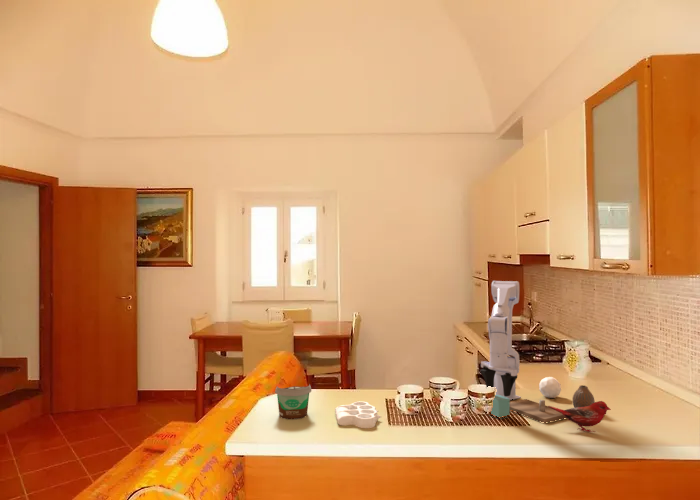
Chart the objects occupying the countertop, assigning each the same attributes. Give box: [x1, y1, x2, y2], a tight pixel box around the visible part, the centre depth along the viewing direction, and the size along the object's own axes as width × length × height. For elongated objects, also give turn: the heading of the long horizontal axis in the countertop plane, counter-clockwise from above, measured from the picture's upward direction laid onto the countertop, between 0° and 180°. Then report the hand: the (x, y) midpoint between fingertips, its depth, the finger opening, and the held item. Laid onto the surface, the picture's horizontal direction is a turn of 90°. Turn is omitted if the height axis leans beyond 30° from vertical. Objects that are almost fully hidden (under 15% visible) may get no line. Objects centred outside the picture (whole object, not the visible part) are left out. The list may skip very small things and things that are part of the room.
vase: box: [572, 384, 596, 408], centre depth 169 cm, size 7×7×9 cm
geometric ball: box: [538, 376, 562, 399], centre depth 186 cm, size 8×8×8 cm
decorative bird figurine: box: [547, 400, 611, 433], centre depth 151 cm, size 3×18×10 cm, turn 61°
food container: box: [274, 383, 312, 420], centre depth 162 cm, size 12×6×10 cm, turn 105°
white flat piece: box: [334, 400, 382, 429], centre depth 161 cm, size 3×18×15 cm
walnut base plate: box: [510, 399, 566, 424], centre depth 167 cm, size 18×12×5 cm, turn 29°
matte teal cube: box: [491, 395, 511, 417], centre depth 165 cm, size 5×5×6 cm
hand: (498, 393), depth 165 cm, fingers open, 7 cm apart
